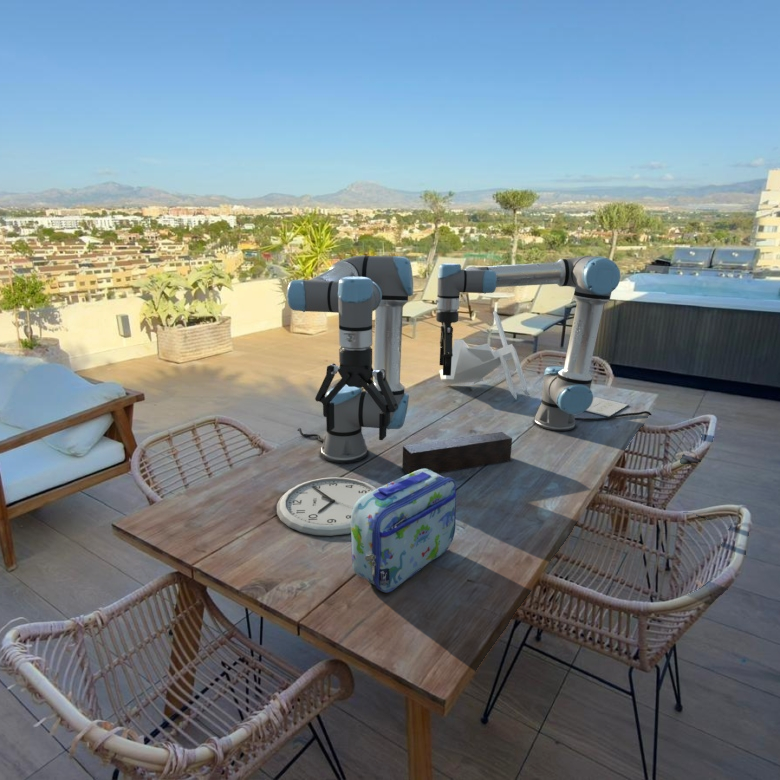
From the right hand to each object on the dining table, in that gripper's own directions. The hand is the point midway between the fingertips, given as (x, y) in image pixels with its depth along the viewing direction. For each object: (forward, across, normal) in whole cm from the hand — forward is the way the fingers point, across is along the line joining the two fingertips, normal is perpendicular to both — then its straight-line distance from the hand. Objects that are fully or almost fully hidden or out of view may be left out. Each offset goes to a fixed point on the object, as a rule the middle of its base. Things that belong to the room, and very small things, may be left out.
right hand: (444, 370), depth 185 cm
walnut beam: (+25, +25, +3) cm, 35 cm away
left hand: (-1, +63, -27) cm, 68 cm away
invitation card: (+25, -36, +72) cm, 84 cm away
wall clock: (+25, +52, -34) cm, 67 cm away
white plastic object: (+25, -54, +22) cm, 63 cm away
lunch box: (+25, +78, -15) cm, 83 cm away
